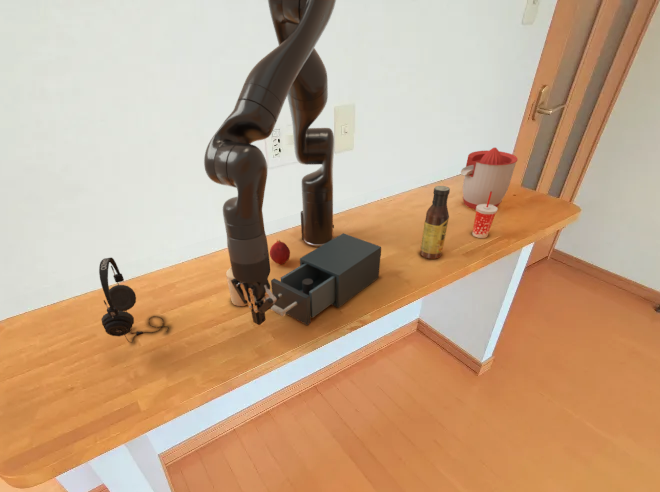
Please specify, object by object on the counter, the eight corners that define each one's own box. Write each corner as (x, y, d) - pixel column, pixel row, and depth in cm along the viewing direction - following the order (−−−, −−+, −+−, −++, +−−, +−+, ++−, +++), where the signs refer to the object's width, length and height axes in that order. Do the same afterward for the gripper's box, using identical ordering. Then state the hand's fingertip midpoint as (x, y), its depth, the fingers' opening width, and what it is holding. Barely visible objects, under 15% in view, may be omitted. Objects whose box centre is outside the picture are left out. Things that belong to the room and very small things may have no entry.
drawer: (291, 337, 86) (289, 309, 81) (257, 316, 92) (253, 290, 87) (350, 293, 98) (351, 267, 93) (317, 278, 104) (316, 253, 99)
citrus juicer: (446, 198, 146) (457, 143, 133) (490, 195, 147) (505, 139, 134) (464, 215, 133) (478, 156, 121) (512, 211, 134) (530, 152, 122)
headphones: (169, 351, 85) (141, 275, 72) (115, 363, 83) (77, 286, 70) (168, 312, 96) (144, 240, 84) (121, 321, 94) (89, 249, 81)
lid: (292, 300, 95) (291, 282, 91) (307, 290, 98) (306, 272, 95) (309, 309, 92) (308, 290, 88) (324, 298, 95) (324, 280, 92)
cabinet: (338, 308, 95) (338, 275, 89) (301, 289, 102) (299, 258, 96) (378, 277, 105) (381, 246, 99) (342, 263, 112) (343, 232, 106)
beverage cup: (481, 228, 125) (492, 186, 116) (494, 236, 121) (507, 193, 112) (465, 232, 124) (475, 189, 115) (477, 240, 119) (489, 196, 110)
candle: (235, 308, 96) (229, 275, 90) (228, 297, 100) (222, 264, 94) (256, 302, 98) (251, 268, 92) (248, 291, 102) (243, 258, 96)
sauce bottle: (442, 260, 111) (456, 193, 98) (419, 259, 112) (430, 192, 99) (440, 249, 116) (453, 184, 103) (419, 248, 117) (429, 183, 104)
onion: (294, 261, 113) (292, 236, 108) (285, 270, 109) (283, 246, 104) (276, 257, 115) (274, 233, 110) (267, 267, 111) (264, 242, 106)
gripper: (287, 256, 72) (292, 326, 83) (241, 235, 79) (252, 302, 90) (257, 272, 68) (267, 344, 79) (212, 249, 75) (227, 318, 86)
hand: (259, 321), depth 84 cm, fingers closed
